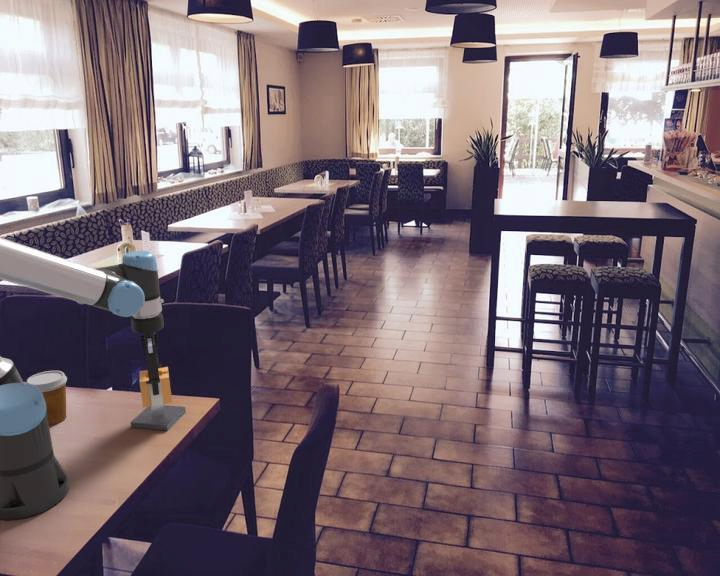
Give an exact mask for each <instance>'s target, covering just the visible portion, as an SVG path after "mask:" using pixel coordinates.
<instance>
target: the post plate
mask: <svg viewBox="0 0 720 576" xmlns="http://www.w3.org/2000/svg"><path fill="white" fill-rule="evenodd" d="M186 412H187V410H186V406H180V405H179V406H178V405H167V404H163V405H159V406H153V407H152V406H150V407H145V408H144V409H143V410H142V411H141V412H140V413H139V414H138V415H136V417H135V418H133V419H132V420H131V421H130V428H131V429H144V430H155V431H167V432H168V431H169V430H170V429H171V428H172V427H173V426H174V425H175V424H176V423H177V422H178V421H179V420H180V419H181V417H183V416H184V414H186Z"/></svg>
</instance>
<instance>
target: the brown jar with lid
mask: <svg viewBox="0 0 720 576" xmlns="http://www.w3.org/2000/svg"><path fill="white" fill-rule="evenodd" d="M67 381H68V377H67V376H66V374H65V373H64V372H63V371H61V370H48V371H46V370H45V371H43V372H38V373H36V374H35V373H34V374H33V375H31V376H29V377H28V378H27V379H26V384H31V385H34V386H36V387H37V388H38V389H40V391H41V392H42V394H43V397H44V399H45V402H46V407H47V410H46V412H47V418H48V423H49V426H53V425H57V424H60V423H62V422H64V421H65V420H66V419H67V385H66V383H67Z"/></svg>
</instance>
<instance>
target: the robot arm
mask: <svg viewBox="0 0 720 576" xmlns="http://www.w3.org/2000/svg"><path fill="white" fill-rule="evenodd" d="M121 262H122V263H119V264H115V265H109V266H102V267H97V268H94V267H90V266H87V265H84V264H81V263H78V262H75V261H72V260H69V259H66V258H63V257H60V256H57V255H55V254H52V253H48V252H46V251H42V250H40V249H36V248H33V247H30V246H27V245H24V244H21V243H18V242H15V241H13V240H9V239H7V238H4V237H0V280H2V281H3V282H4V281H5V282H8V283H11V284H15V285H19V286H23V287H26V288H28V289H29V288H30V289H33V290H36V291H40V292H44V293H47V294H50V295H54V296H57V297H60V298H61V297H62V298H64V299H69V300H72V301H74V302H76V303H77V304H79V305H85V304H86V305H89V306H92V307H94V308H98V309H100V310H101V309H102V310H106V311H108V312H111V313H112V314H113V315H116V316H119V317H124V318H128V317H129V318H130V324H131V330H132V332H134V333H136V334H142V335H140V342H141V346H142V350H143V356H144V357H145V360H146V370H148V377H149V381H146V384H149V387H150V395H151V402H152V407H153V406H159V405H163V398H162V389H161V381H160V378H159V370H158V368H163V366H162V362H161V363H160V362H159V358H158V354H159V335H158V333H157V332H159V331H161V330H162V329H163V328H164V327H165V323H164V315H163V313H162V311H163V306H162V304H163V303H165V301H164V299H163V298H161V291H160V284H159V283H160V282H159V281H160V280H159V269H158V264H157V260H156V255H155V254H154V253H153V252H151V251H149V250H136V251H130V252H127V253H125V254H123V255H122V261H121ZM155 332H156V333H155ZM46 410H47V407H46V402H45V399H44V397H43V394H42V392H41V391H40V389H38V388H37V387H36V386H34V385H31V384H27V383H25V382H24V381H23V379H22V377H21V375H20V373H19V372H18V370H17V367H16V366H15V364H14V362H13V360H12V359H10V358H6V357H2V356H0V520H2V521H3V520H4V521H12V520H13V521H14V520H21V519H25V518H30V517H33V516H35V515H38V514H41V513H43V512H45V511H47V510H49V509H51V508H53V507H54V506H56V505H57V504H59V503H60V502H61V501H62V500H63V499H64V498H65V497H64V496H67V493H68V492H69V490H70V484H69V478H68V477H69V476H68V474H67V473H66V472H65V470H64V468H63V466H62V465H61V463H60V462H59V461H58V459H57V458H56V456H55V452H54V447H53V446H54V445H53V441H52V436H51V431H50V430H51V429H50V425H49V423H48V418H47V412H46ZM63 497H64V498H63ZM62 498H63V499H62ZM61 499H62V500H61ZM60 500H61V501H60ZM59 501H60V502H59ZM55 504H56V505H55ZM52 506H53V507H52Z"/></svg>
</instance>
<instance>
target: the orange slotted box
mask: <svg viewBox="0 0 720 576" xmlns="http://www.w3.org/2000/svg"><path fill="white" fill-rule="evenodd" d="M158 370H159V378H160V381H161V389H162V398H163V404H164V405H167V404H173V400H172V399H173V398H172V390H171V381H170V374H169V373H170V372H169V367H168V366H164V367H158ZM138 373H139V388H140V396H141V402H142V408H144V409H145V408H147V407H150V406H152V402H151V395H150V387H149V384H146V381H149V377H148V369H144V370H139V372H138Z"/></svg>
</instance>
